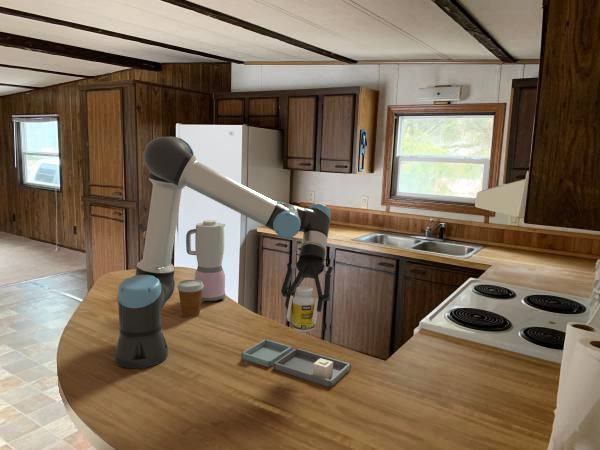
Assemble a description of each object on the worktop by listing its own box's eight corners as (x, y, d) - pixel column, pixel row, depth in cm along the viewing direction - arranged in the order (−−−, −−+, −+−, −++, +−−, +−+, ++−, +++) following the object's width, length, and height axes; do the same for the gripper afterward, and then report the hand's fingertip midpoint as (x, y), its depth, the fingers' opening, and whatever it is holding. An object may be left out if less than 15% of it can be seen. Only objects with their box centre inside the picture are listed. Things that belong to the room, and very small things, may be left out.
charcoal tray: (330, 390, 125) (331, 381, 125) (273, 371, 134) (273, 363, 134) (350, 371, 136) (350, 363, 135) (296, 355, 145) (296, 347, 144)
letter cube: (325, 381, 128) (326, 367, 127) (312, 377, 130) (313, 363, 130) (332, 375, 132) (333, 361, 131) (319, 371, 134) (320, 357, 133)
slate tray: (269, 370, 135) (269, 361, 135) (241, 360, 140) (241, 352, 140) (292, 354, 145) (292, 346, 145) (265, 346, 151) (265, 338, 150)
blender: (220, 292, 202) (220, 218, 196) (229, 301, 191) (230, 222, 186) (182, 296, 195) (182, 219, 189) (190, 306, 184) (189, 224, 178)
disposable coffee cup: (200, 319, 171) (200, 287, 169) (174, 318, 171) (173, 286, 169) (206, 310, 180) (206, 279, 178) (181, 309, 181) (181, 278, 178)
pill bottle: (294, 333, 131) (296, 292, 129) (289, 324, 137) (290, 285, 135) (317, 331, 133) (319, 291, 130) (310, 322, 139) (312, 284, 137)
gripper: (345, 258, 145) (337, 329, 132) (283, 253, 148) (269, 322, 135) (344, 245, 139) (335, 318, 126) (280, 240, 142) (264, 311, 129)
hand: (301, 320), depth 131 cm, fingers closed on pill bottle, 6 cm apart
